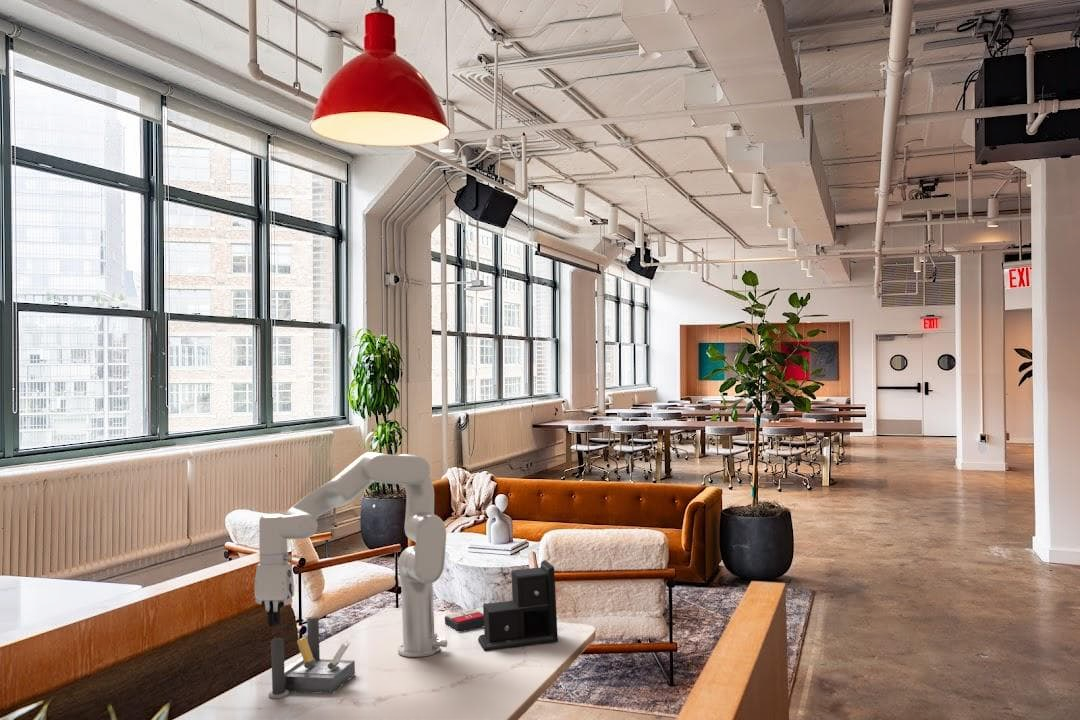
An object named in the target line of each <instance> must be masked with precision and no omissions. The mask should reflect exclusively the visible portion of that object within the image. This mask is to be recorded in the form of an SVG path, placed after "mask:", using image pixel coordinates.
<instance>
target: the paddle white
mask: <svg viewBox="0 0 1080 720" xmlns="http://www.w3.org/2000/svg"><path fill="white" fill-rule="evenodd" d="M350 644H351V642H349V640H345V641H344V642H343V643H342V644H341V645H340V647H339V648H338V650H337V652H336V653H335V655H334V656H333V658H332V659H331V660H332V661H331V663H329V664H328V668H329V669H332V668H334V667H335V666H336V665H338V664H339V660H342V657H343V656H344V654H345V652H346V651H347V649H348V648H349V646H350Z"/></svg>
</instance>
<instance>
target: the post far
mask: <svg viewBox="0 0 1080 720" xmlns="http://www.w3.org/2000/svg"><path fill="white" fill-rule="evenodd" d="M319 617H320V616H313V615H312V616H309V617H307V618H306V623H307V624H306V626H307V641H308V644H309V647H310V650H311V652H312V655H313V658H314V659H321V658H320V622H319V621H320V620H319V619H320V618H319Z"/></svg>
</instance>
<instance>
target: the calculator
mask: <svg viewBox="0 0 1080 720" xmlns="http://www.w3.org/2000/svg"><path fill="white" fill-rule="evenodd" d="M445 624H446V626H447V625H448V626H447V627H449V626H450V627H451V628H450V627H449V628H450V629H452V628H453V629H455V630H456V631H455V630H454V631H455V632H457V631H461V632H465V631H464V630H466V631H471V630H476V629H480V628H484V614H483V606H481V607H477V608H471V609H465V610H461V611H459V612H458V611H457V612H454V613H448V614H446V615H445V616H444V625H445ZM453 629H452V630H453Z"/></svg>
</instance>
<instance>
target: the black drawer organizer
mask: <svg viewBox="0 0 1080 720" xmlns="http://www.w3.org/2000/svg"><path fill="white" fill-rule="evenodd" d="M510 572H511V590H512V592H511V593H512V597H511V598H512V600H506V601H497V602H490V603H489V602H487V603H483V605H482V607H483V614H484V627H483V628H484V629H483V630H484V632H483V633H484V634H481V635H479V636H478V638H477V640H478V643H479V645H480V647H481V648H482V650H483V652H489V651H497V650H505V649H506V650H507V649H513V648H520V647H521V648H522V647H527V646H530V647H531V646H536V645H543V644H552V643H557V642H559V637H558V620H557V619H558V618H557V616H558V615H557V614H558V613H557V599H556V598H557V597H556V596H557V595H556V574H555V567H554V565H552V564H551V563H550V562H548V560H546V559H544V560H542V561H541V562H540V567H533V568H530V567H529V568H524V569H523V568H522V569H521V568H520V569H514V570H513V569H512V570H511V571H510Z"/></svg>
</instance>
